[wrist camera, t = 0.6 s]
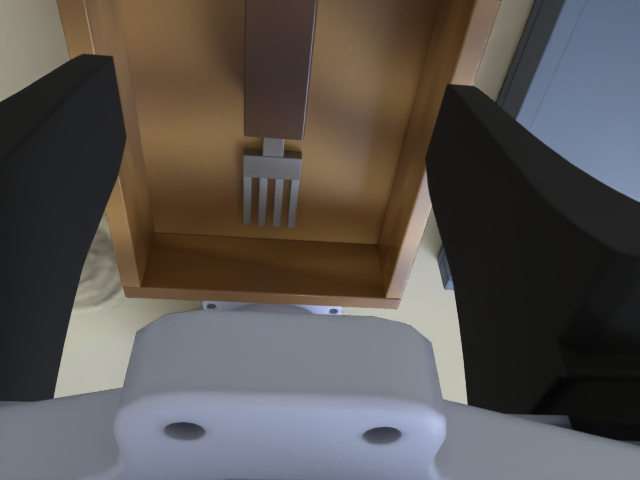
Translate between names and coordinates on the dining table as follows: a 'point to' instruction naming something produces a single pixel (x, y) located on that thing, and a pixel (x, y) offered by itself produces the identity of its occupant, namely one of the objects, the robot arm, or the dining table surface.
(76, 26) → the wooden box
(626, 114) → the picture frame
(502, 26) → the dining table surface
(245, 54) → the fork
